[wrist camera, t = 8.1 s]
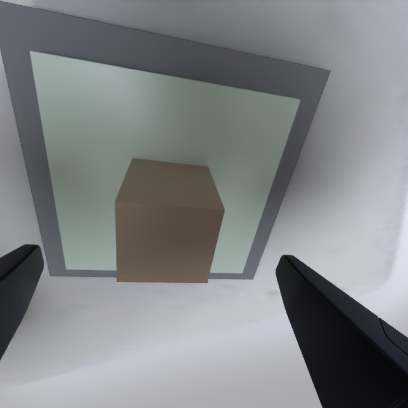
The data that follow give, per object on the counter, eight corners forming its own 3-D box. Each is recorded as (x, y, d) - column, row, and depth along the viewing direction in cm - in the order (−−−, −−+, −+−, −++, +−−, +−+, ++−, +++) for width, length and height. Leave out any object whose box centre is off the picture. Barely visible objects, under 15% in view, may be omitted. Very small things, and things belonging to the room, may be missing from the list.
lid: (239, 265, 18) (262, 332, 14) (70, 260, 16) (30, 338, 11) (293, 97, 12) (365, 116, 8) (39, 51, 10) (-69, 40, 5)
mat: (251, 275, 19) (253, 279, 19) (52, 271, 17) (49, 276, 16) (326, 70, 12) (330, 70, 12) (-5, 1, 9) (-11, -2, 9)
